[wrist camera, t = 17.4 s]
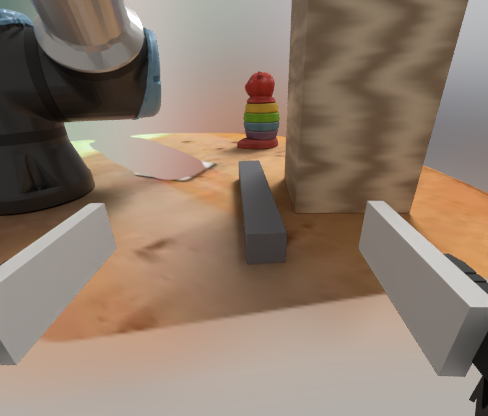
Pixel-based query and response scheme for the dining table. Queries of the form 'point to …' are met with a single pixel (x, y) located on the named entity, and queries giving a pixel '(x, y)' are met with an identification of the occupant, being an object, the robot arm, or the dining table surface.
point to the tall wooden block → (364, 98)
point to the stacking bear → (260, 113)
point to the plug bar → (260, 217)
